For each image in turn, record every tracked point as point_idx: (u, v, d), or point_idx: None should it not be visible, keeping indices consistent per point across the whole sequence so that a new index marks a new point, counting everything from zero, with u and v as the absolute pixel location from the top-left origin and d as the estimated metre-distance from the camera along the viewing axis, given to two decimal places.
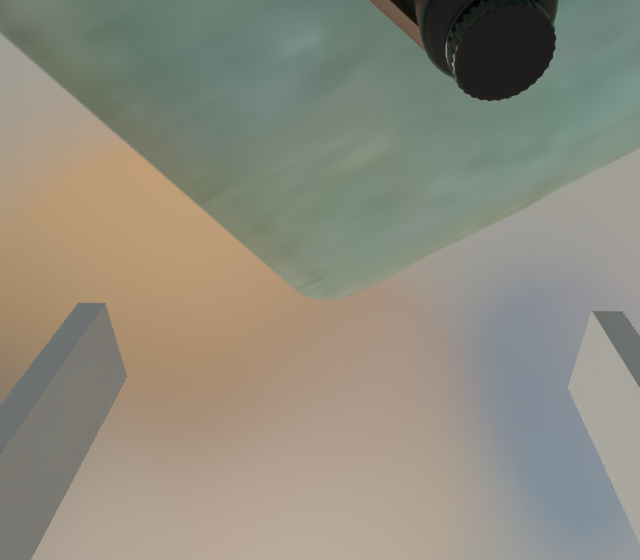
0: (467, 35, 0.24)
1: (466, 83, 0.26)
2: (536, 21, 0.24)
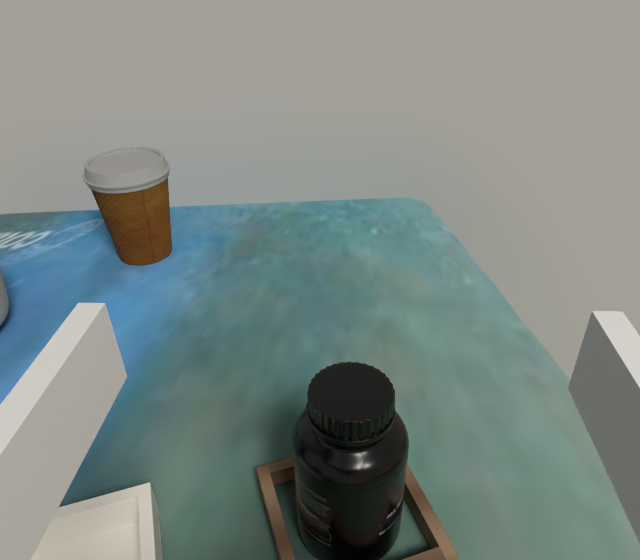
0: (317, 404, 0.28)
1: (360, 416, 0.27)
2: (335, 368, 0.30)
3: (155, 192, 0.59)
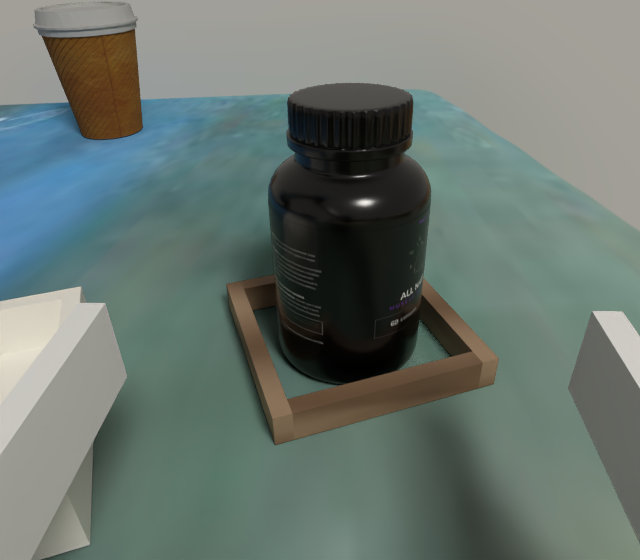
0: (301, 103, 0.19)
1: (364, 108, 0.19)
2: (328, 85, 0.22)
3: (119, 43, 0.51)
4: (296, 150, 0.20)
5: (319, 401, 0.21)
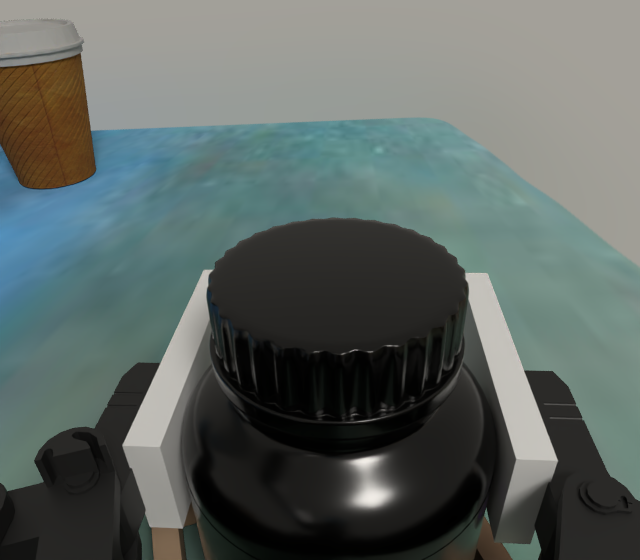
0: (227, 305, 0.09)
1: (365, 334, 0.08)
2: (296, 228, 0.11)
3: (57, 73, 0.40)
4: (223, 390, 0.10)
5: None
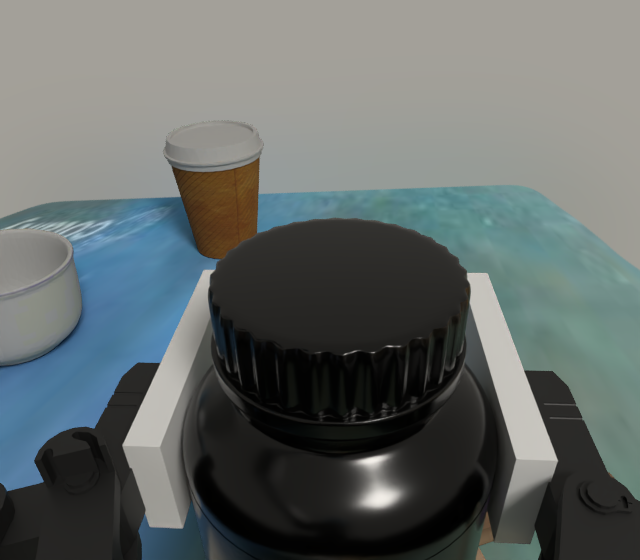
0: (229, 305, 0.09)
1: (367, 335, 0.08)
2: (297, 228, 0.11)
3: (248, 172, 0.50)
4: (225, 391, 0.10)
5: None
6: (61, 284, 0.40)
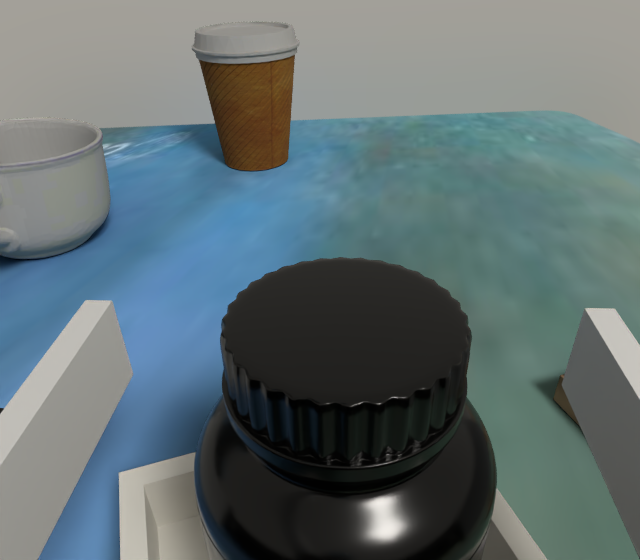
0: (241, 353, 0.09)
1: (373, 385, 0.09)
2: (304, 269, 0.12)
3: (284, 69, 0.46)
4: (236, 431, 0.10)
5: None
6: (92, 164, 0.36)
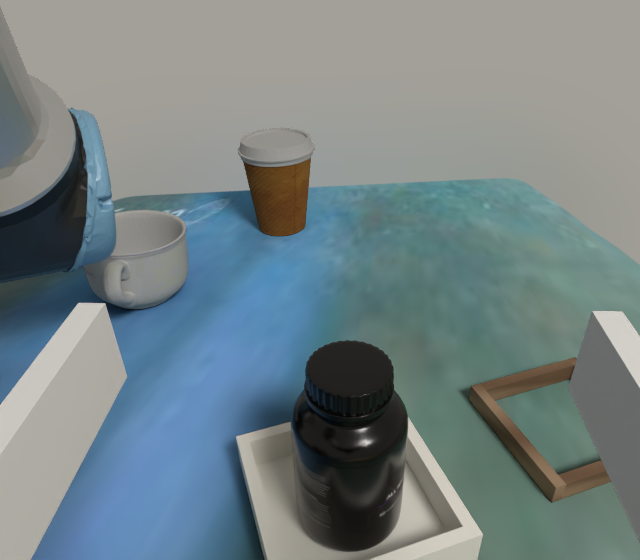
0: (315, 380, 0.28)
1: (358, 391, 0.27)
2: (333, 346, 0.30)
3: (304, 167, 0.65)
4: (311, 407, 0.28)
5: (578, 476, 0.35)
6: (181, 247, 0.55)
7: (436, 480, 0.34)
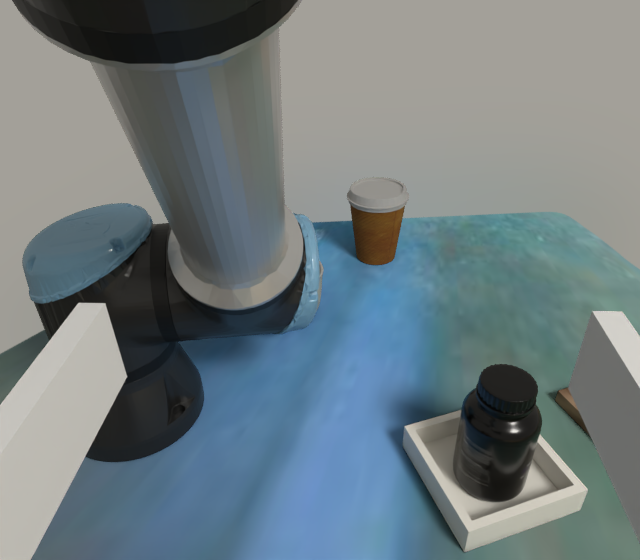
0: (490, 391, 0.44)
1: (520, 398, 0.43)
2: (493, 368, 0.47)
3: (401, 211, 0.81)
4: (485, 408, 0.45)
5: None
6: (321, 281, 0.71)
7: (550, 456, 0.50)
